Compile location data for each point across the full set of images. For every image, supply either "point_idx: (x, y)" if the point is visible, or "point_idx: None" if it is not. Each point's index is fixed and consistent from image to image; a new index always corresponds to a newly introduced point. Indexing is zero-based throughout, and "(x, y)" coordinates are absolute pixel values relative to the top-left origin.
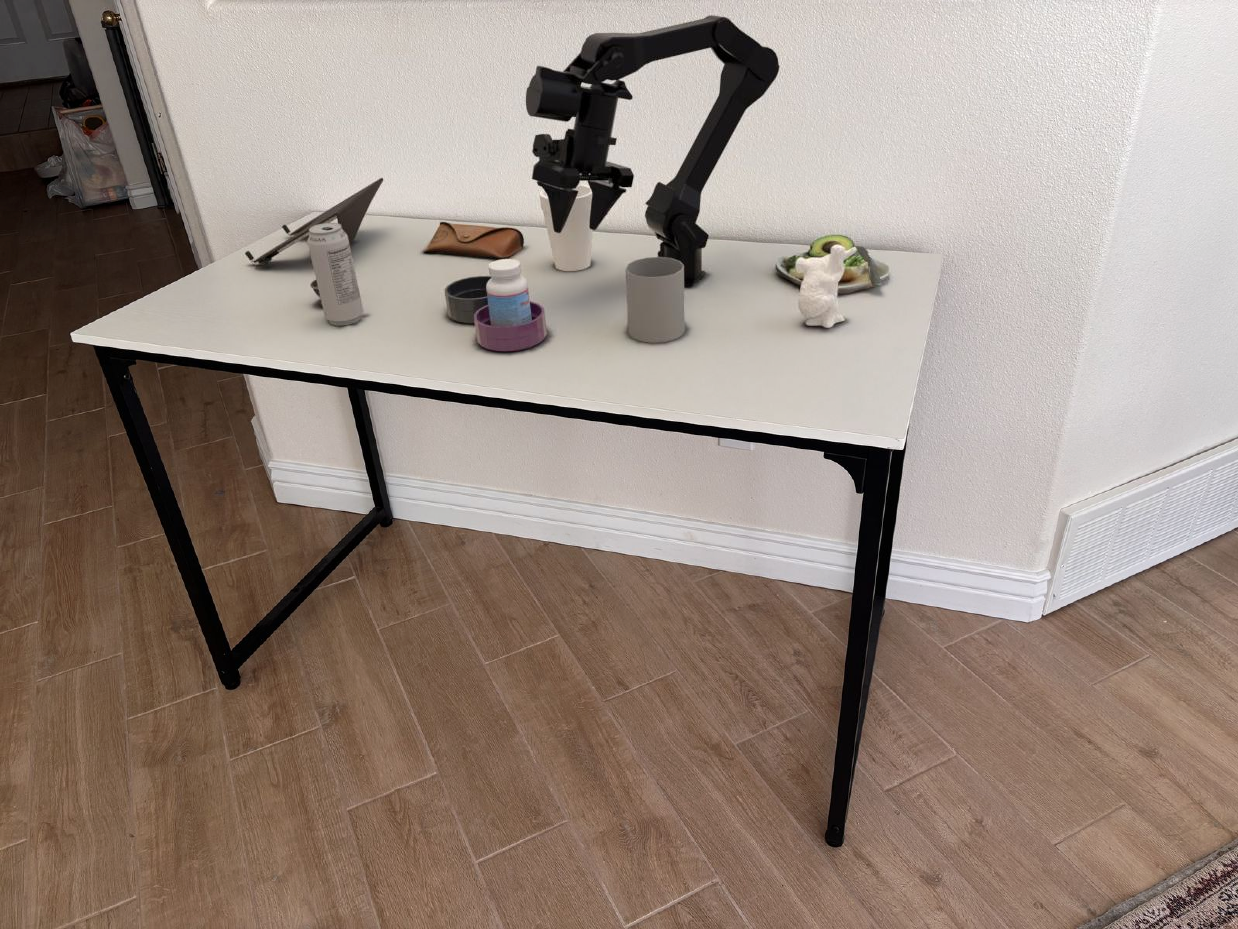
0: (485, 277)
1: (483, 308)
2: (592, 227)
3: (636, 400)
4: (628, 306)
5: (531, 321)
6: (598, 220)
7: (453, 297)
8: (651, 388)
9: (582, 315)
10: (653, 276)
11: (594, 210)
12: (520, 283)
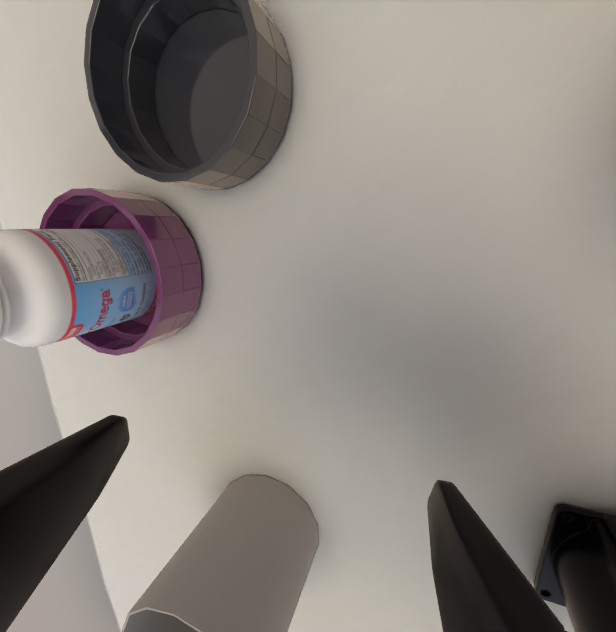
0: (245, 21)
1: (87, 195)
2: (433, 501)
3: (92, 510)
4: (204, 523)
5: (89, 345)
6: (436, 575)
7: (85, 58)
8: (119, 524)
9: (286, 367)
10: (268, 614)
11: (474, 615)
12: (11, 342)
